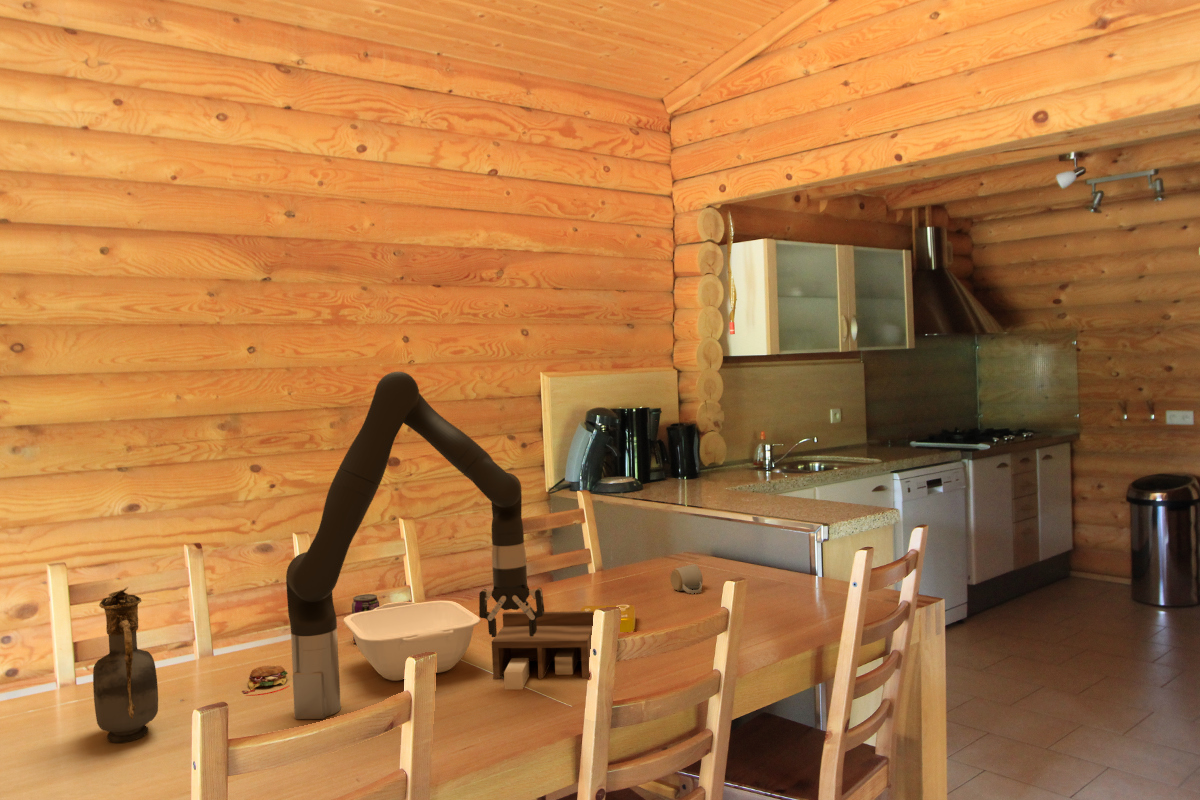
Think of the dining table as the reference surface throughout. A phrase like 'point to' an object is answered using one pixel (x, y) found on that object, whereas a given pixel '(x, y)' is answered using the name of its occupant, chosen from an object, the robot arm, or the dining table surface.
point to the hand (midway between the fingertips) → (513, 635)
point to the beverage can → (364, 603)
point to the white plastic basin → (412, 634)
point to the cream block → (516, 673)
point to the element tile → (626, 615)
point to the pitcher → (124, 674)
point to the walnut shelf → (545, 641)
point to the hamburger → (266, 678)
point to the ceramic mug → (687, 579)
